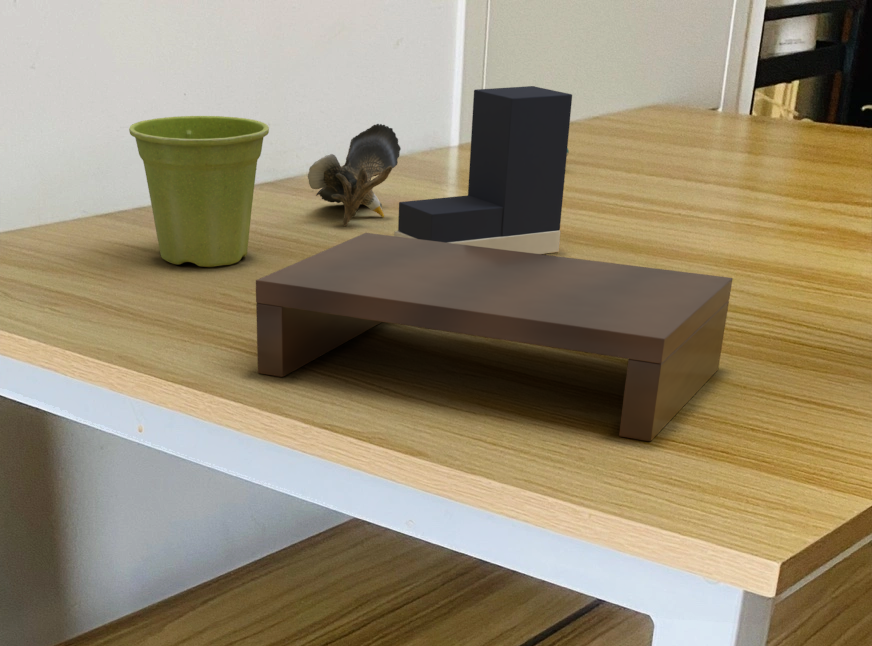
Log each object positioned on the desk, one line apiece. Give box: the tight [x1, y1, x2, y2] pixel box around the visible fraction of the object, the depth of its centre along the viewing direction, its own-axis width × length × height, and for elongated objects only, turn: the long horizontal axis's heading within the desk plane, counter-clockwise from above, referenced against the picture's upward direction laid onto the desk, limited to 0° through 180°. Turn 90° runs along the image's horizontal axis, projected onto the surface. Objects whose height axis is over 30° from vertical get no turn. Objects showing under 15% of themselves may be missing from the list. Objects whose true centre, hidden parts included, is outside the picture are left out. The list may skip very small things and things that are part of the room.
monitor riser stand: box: [255, 232, 733, 442], centre depth 74 cm, size 22×13×5 cm, turn 62°
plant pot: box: [128, 115, 270, 268], centre depth 95 cm, size 9×9×9 cm
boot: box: [393, 85, 573, 255], centre depth 96 cm, size 11×5×10 cm, turn 117°
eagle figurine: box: [307, 123, 402, 227], centre depth 108 cm, size 8×7×9 cm
